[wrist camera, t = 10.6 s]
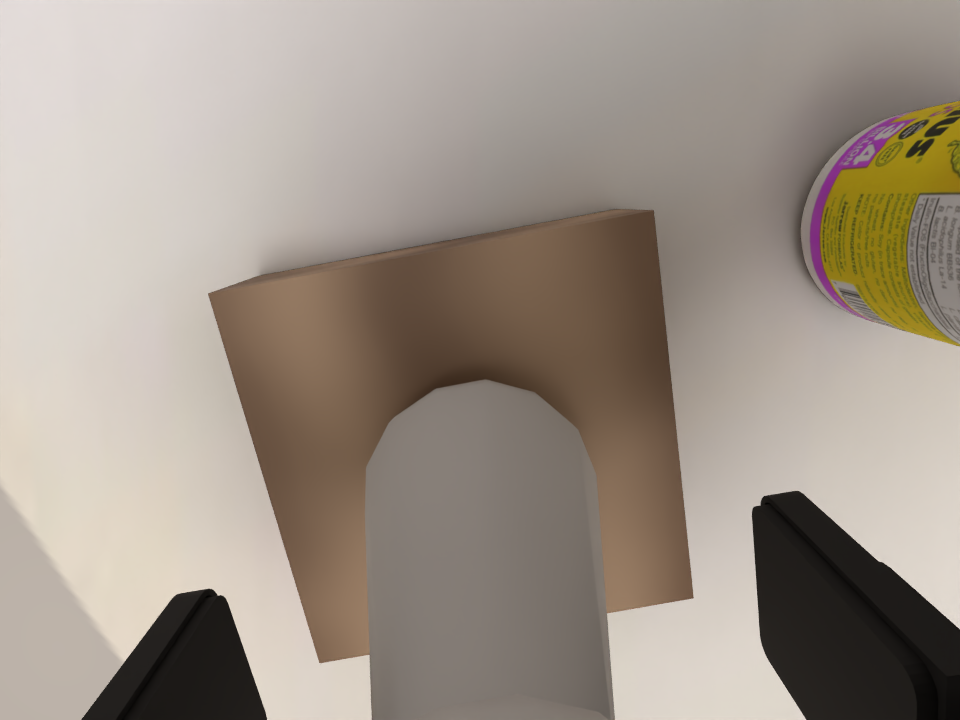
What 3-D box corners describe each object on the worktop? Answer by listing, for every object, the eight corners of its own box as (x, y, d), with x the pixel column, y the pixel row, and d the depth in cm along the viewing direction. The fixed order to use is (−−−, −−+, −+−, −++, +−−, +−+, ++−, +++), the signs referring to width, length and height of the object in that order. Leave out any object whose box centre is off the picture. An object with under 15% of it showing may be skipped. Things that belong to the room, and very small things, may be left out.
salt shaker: (455, 576, 18) (439, 1407, 6) (336, 436, 17) (-29, 1105, 4) (615, 472, 17) (1006, 1161, 5) (503, 317, 16) (643, 711, 4)
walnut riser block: (615, 209, 19) (653, 210, 16) (653, 530, 23) (693, 598, 19) (258, 275, 20) (208, 293, 16) (343, 585, 23) (319, 663, 19)
